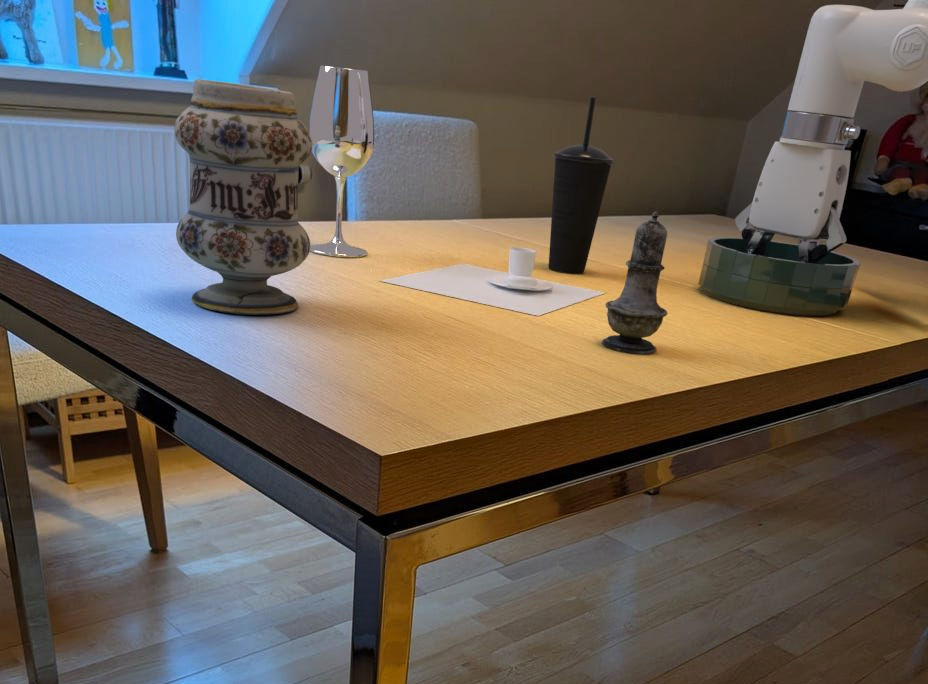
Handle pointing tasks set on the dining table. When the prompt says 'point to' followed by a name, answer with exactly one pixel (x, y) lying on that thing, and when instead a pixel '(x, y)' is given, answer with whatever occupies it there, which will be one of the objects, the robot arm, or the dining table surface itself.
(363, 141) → the wineglass
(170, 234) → the dining table surface
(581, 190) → the drinking cup
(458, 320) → the dining table surface
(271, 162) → the apothecary jar
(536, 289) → the teacup and saucer
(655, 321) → the salt shaker
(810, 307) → the bowl
